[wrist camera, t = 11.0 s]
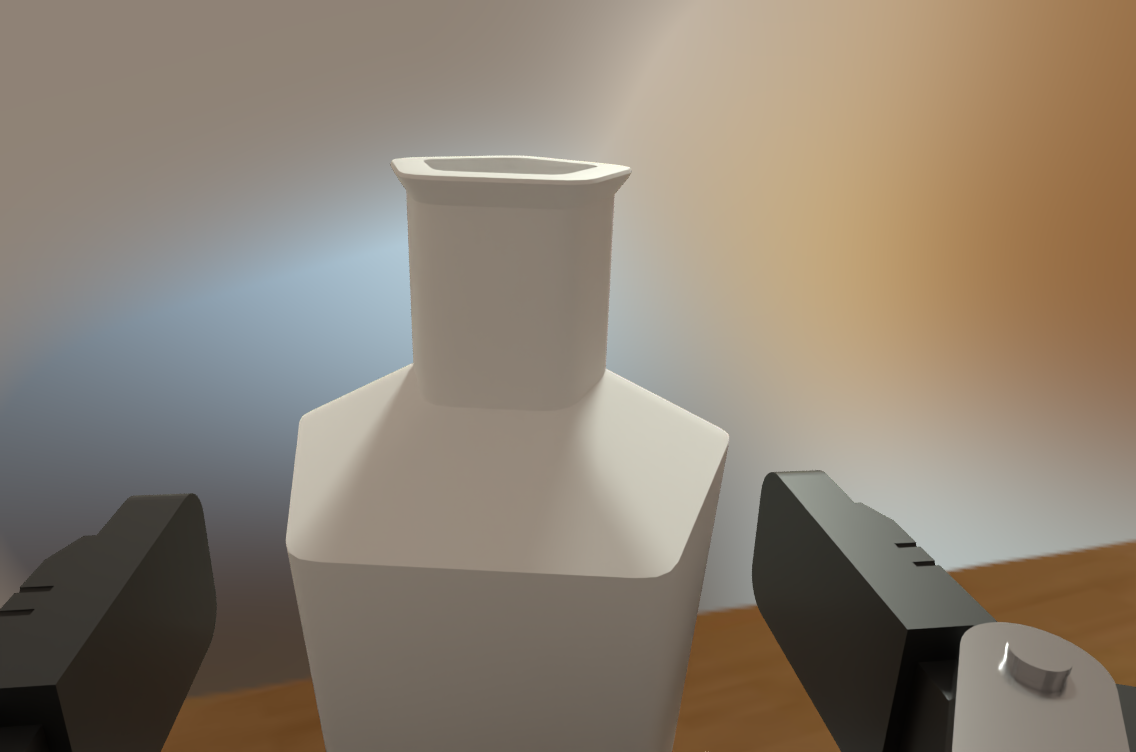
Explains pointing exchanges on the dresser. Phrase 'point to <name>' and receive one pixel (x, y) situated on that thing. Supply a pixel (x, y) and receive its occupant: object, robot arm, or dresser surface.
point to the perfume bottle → (503, 493)
